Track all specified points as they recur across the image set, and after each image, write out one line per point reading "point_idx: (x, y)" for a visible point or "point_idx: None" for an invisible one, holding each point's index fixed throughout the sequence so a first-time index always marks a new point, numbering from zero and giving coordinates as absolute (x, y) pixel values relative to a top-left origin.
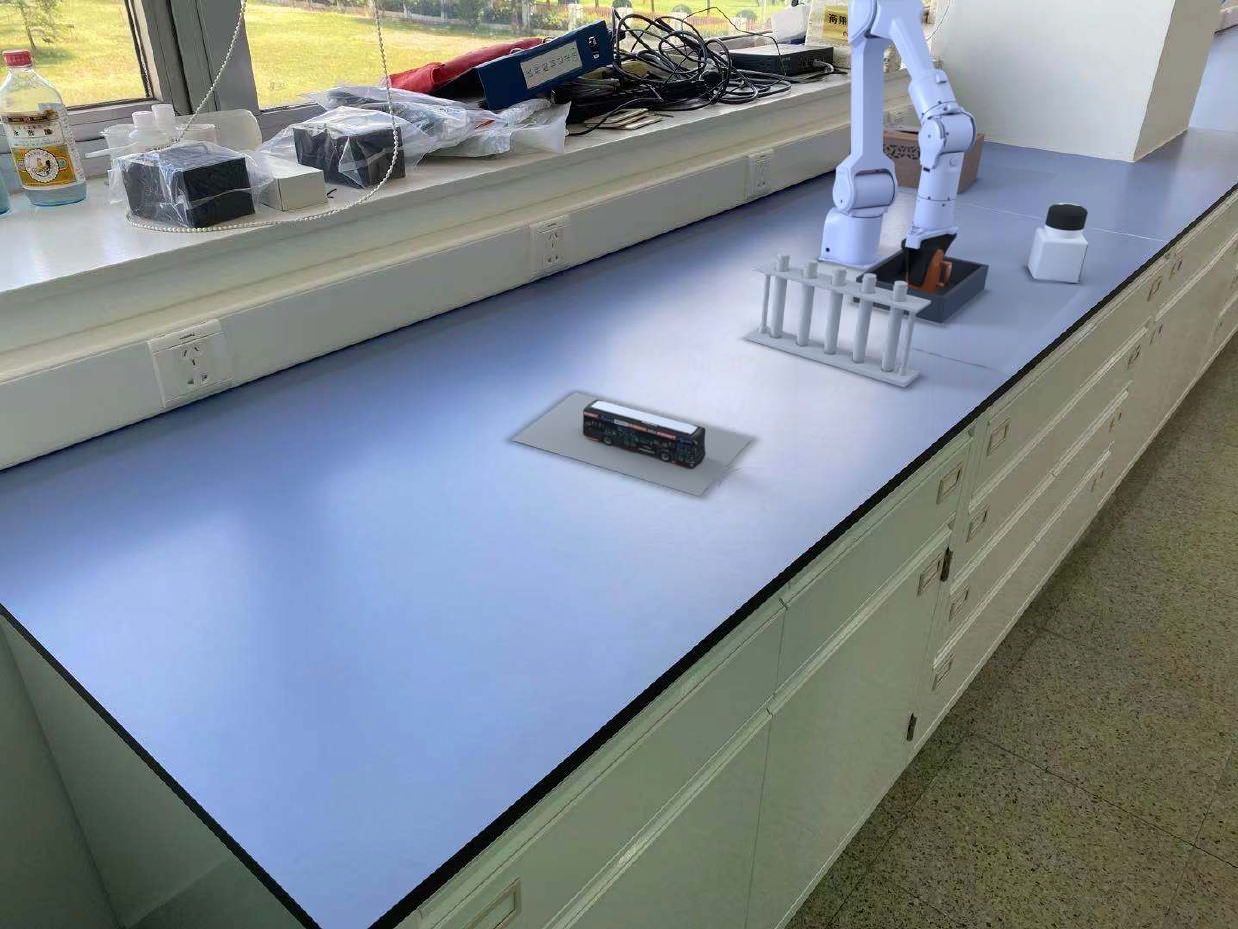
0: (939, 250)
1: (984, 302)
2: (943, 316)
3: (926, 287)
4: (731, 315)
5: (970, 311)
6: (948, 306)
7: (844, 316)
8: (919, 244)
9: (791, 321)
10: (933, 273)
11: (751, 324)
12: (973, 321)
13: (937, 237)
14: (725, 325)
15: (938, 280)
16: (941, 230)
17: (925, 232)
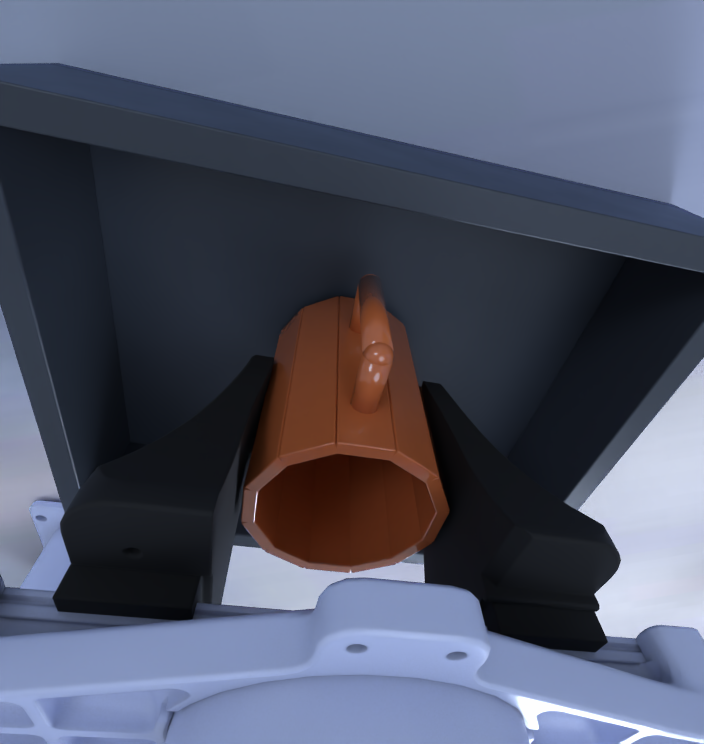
0: (280, 467)
1: (241, 21)
2: (689, 214)
3: (412, 358)
4: (626, 626)
5: (426, 88)
6: (669, 215)
7: (600, 487)
8: (694, 656)
9: (653, 558)
10: (409, 386)
11: (678, 599)
12: (580, 40)
13: (219, 557)
14: (685, 622)
15: (346, 333)
16: (532, 696)
17: (631, 739)
